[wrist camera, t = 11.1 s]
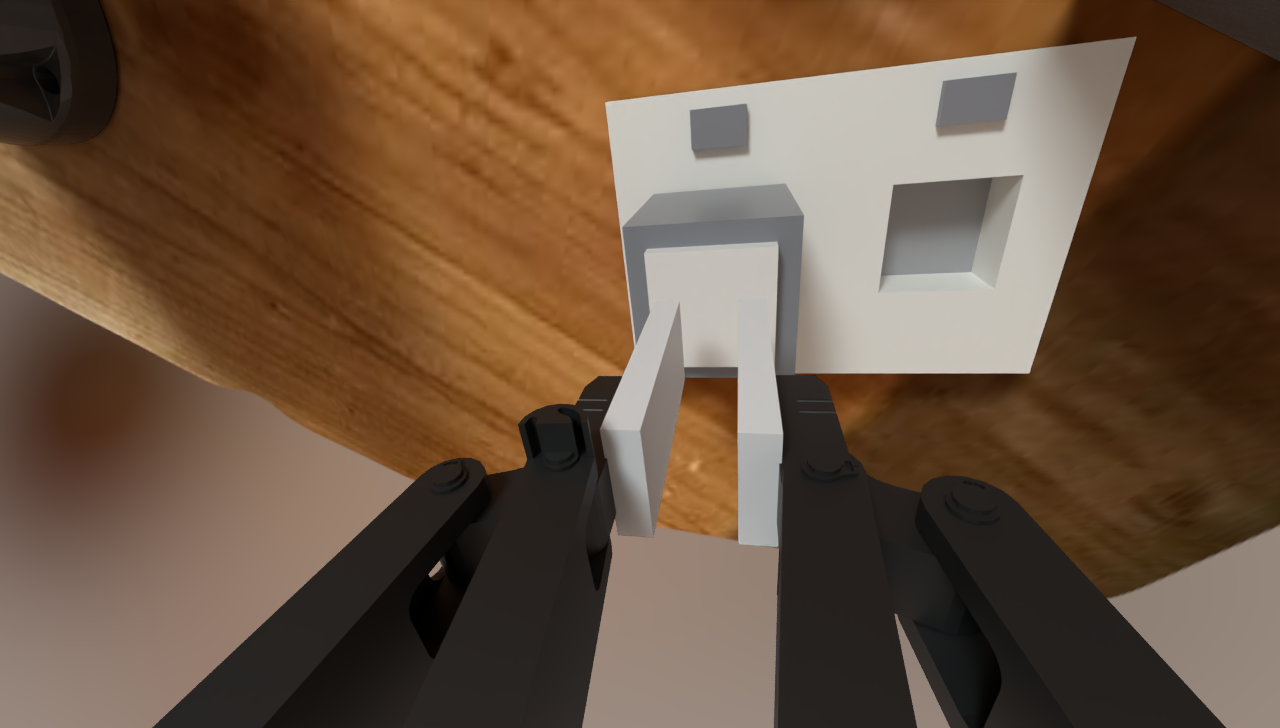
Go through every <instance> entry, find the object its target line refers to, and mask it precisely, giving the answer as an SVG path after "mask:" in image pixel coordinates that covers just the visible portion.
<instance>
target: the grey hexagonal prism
mask: <svg viewBox="0 0 1280 728" xmlns="http://www.w3.org/2000/svg"><path fill="white" fill-rule="evenodd" d="M1156 1H1158V2H1160V3H1162V4H1164V5H1166V6H1168V7H1170V8H1172V9H1174V10H1176V11H1178V12H1180V13H1182V14H1184V15H1186V16H1188V17H1190V18H1192V19H1194V20H1196V21H1198V22H1201V23H1203V24H1205V25H1207V26H1209V27H1211V28H1213V29H1215V30H1217V31H1219V32H1221V33H1223V34H1225V35H1227V36H1229V37H1231V38H1233V39H1235V40H1237V41H1239V42H1241V43H1243V44H1245V45H1247V46H1249V47H1251V48H1253V49H1255V50H1257V51H1259V52H1262V53H1264V54H1266V55H1268V56H1270V57H1272V58H1274V59H1276V60H1278V61H1280V0H1156Z"/></svg>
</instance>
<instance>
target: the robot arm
mask: <svg viewBox="0 0 1280 728" xmlns="http://www.w3.org/2000/svg"><path fill="white" fill-rule="evenodd" d="M116 90H117V74H116V64H115V57H114V51H113V46H112V42H111V38H110V34H109V31H108V27H107V24H106V21H105V18H104V15H103V13H102V10H101V7H100V5H99V2H98V0H0V142H1V143H7V144H13V145H26V146H38V145H55V144H72V143H79V142H83V141H86V140H88V139H90V138H92V137H94V136H95V135H97V134H98V133H99V132H100V131H101V130H102V129H103V128H104V126H105V125H106V124H107V122H108V120H109V118H110V116H111V114H112V111H113V108H114V104H115V99H116ZM684 381H685V373H684V358H683V343H682V328H681V313H680V301H655V302H654V304H653V307H652V309H651V311H650V314H649V316H648V318H647V321H646V323H645V325H644V328H643V330H642V332H641V335H640V337H639V339H638V342H637V344H636V346H635V349H634V351H633V353H632V356H631V358H630V360H629V363H628V365H627V367H626V370H625V372H624V374H623V376H598V377H597V378H596V379H594V380H593V381H592V382H591V383H589V384H588V385H587V386H585V388H584V390H583V392H582V394H581V396H580V397H579V401H577V403H576V405H570V404H556V405H549V406H546V407H543V408H540V409H537V410H535V411H533V412H531V413H530V414H528V415H527V416H525V417H524V418H523V419H522V420H521V422H520V423H519V424H518V426H519V430H520V434H521V438H522V441H523V445H524V449H525V452H526V456H527V462H526V464H525V466H524V468H520V469H516V470H512V471H507V472H501V473H496V474H491V475H487V474H486V471H485V468H484V466H483V465H482V464H481V462H480V461H477V460H475V459H472V458H457V459H452V460H448V461H445V462H442V463H440V464H438V465H436V466H434V467H432V468H430V469H429V470H428V471H426V472H425V473H424V474H422V475H421V476H420V477H419V478H418V479H417V480H416V481H415V482H414V483H412V484H411V485H410V486H409V487H408V488H407V489H406V490H405V491H404V492H403V493H402V494H401V495H400V496H399V497H398V498H396V500H394V501H393V502H392V503H391V504H390V505H389V506H388V507H387V508H386V509H385V510H384V511H383V512H382V513H381V514H379V515H378V516H377V517H376V518H375V519H374V520H373V521H372V522H371V523H370V524H369V525H368V526H367V527H366V528H365V529H363V530H362V531H361V532H360V533H359V534H358V535H357V536H356V537H355V538H354V539H353V540H352V541H351V542H350V543H349V544H348V545H346V546H345V547H344V548H343V549H342V550H341V551H340V552H339V553H338V554H337V555H336V556H335V557H334V558H333V559H332V560H331V561H329V562H328V563H327V564H326V565H325V566H324V567H323V568H322V569H321V570H320V571H319V572H318V573H317V574H316V575H314V576H313V577H312V578H311V579H310V580H309V581H308V582H307V583H306V584H305V585H304V586H303V587H302V588H301V589H300V590H299V591H297V592H296V593H295V594H294V595H293V596H292V597H291V598H290V599H289V600H288V601H287V602H286V603H285V604H284V605H283V606H281V607H280V608H279V609H278V610H277V611H276V612H275V613H274V614H273V615H272V616H271V617H270V618H269V619H268V620H266V621H265V622H264V623H263V624H262V625H261V626H260V627H259V628H258V629H257V630H256V631H255V632H254V633H253V634H252V635H251V636H249V637H248V638H247V639H246V640H245V641H244V642H243V643H242V644H241V645H240V646H239V647H238V648H237V649H236V650H235V651H233V652H232V653H231V654H230V655H229V656H228V657H227V658H226V659H225V660H224V661H223V662H222V663H221V664H220V665H219V666H217V667H216V669H214V670H213V671H212V673H210V674H209V675H208V676H207V677H206V678H205V679H204V680H203V681H202V682H200V683H199V684H198V685H197V686H196V687H195V688H194V689H193V690H192V691H191V692H190V693H189V694H188V695H187V696H186V697H185V698H184V699H182V700H181V701H180V702H179V703H178V704H177V705H176V706H175V707H174V708H173V709H172V710H171V711H170V712H168V714H166V715H165V716H164V717H163V718H162V719H161V720H160V721H159V722H158V723H157V724H156V725H155V726H154V727H153V728H582V723H583V718H584V713H585V707H586V701H587V696H588V690H589V684H590V679H591V672H592V667H593V661H594V656H595V649H596V644H597V639H598V633H599V627H600V621H601V615H602V610H603V604H604V598H605V593H606V587H607V582H608V576H609V570H610V564H611V559H612V545H611V540H610V532H611V529H612V526H613V522H614V519H615V520H616V525H617V532H618V535H623V536H639V537H651V538H653V537H654V532H655V527H656V522H657V517H658V512H659V507H660V502H661V497H662V492H663V487H664V482H665V477H666V472H667V467H668V462H669V457H670V452H671V447H672V442H673V437H674V432H675V427H676V422H677V417H678V411H679V406H680V401H681V396H682V391H683V386H684ZM738 536H739V544H746V545H760V546H773V547H778V542H779V564H778V584H777V595H778V597H777V599H778V600H777V634H776V671H775V672H776V674H775V709H774V711H775V712H774V728H917V725H916V720H915V715H914V710H913V705H912V700H911V695H910V690H909V685H908V680H907V675H906V670H905V666H904V660H903V655H902V651H901V645H900V640H899V635H898V630H897V625H896V621H895V615H894V613H895V614H897V615H898V618H899V621H900V623H901V625H902V627H903V629H904V631H905V634H906V636H907V638H908V640H909V642H910V644H911V646H912V648H913V650H914V652H915V655H916V657H917V659H918V661H919V663H920V665H921V667H922V669H923V671H924V673H925V675H926V678H927V679H928V682H929V684H930V686H931V688H932V690H933V692H934V694H935V696H936V699H937V701H938V703H939V705H940V707H941V709H942V711H943V713H944V715H945V717H946V719H947V721H948V724H949V726H950V727H951V728H1226V727H1225V726H1224V725H1223V724H1222V723H1221V722H1220V721H1219V719H1218V718H1217V717H1216V716H1215V715H1214V714H1213V713H1212V712H1211V711H1210V710H1209V709H1208V708H1207V707H1206V705H1205V704H1204V703H1203V702H1202V701H1201V700H1200V699H1199V698H1198V697H1197V696H1196V695H1195V694H1194V692H1193V691H1192V690H1191V689H1190V688H1189V687H1188V686H1187V685H1186V684H1185V683H1184V682H1183V681H1182V680H1181V678H1180V677H1178V675H1177V674H1176V673H1175V672H1174V671H1173V670H1172V669H1171V668H1170V667H1169V666H1168V664H1167V663H1166V662H1165V661H1164V660H1163V659H1162V658H1161V657H1160V656H1159V655H1158V654H1157V653H1156V651H1155V650H1154V649H1153V648H1152V647H1151V646H1150V645H1149V644H1148V643H1147V642H1146V641H1145V640H1144V638H1142V637H1141V635H1140V634H1139V633H1138V632H1137V631H1136V630H1135V629H1134V628H1133V627H1132V626H1131V625H1130V623H1128V621H1127V620H1126V619H1125V618H1124V617H1123V616H1122V615H1121V614H1120V613H1119V611H1117V609H1116V608H1115V607H1114V606H1113V605H1112V604H1111V603H1110V602H1109V601H1108V600H1107V599H1106V597H1105V596H1104V595H1103V594H1102V593H1101V592H1100V591H1099V590H1098V589H1097V588H1096V587H1095V586H1094V584H1093V583H1092V582H1091V581H1090V580H1089V579H1088V578H1087V577H1086V576H1085V575H1084V574H1083V573H1082V571H1081V570H1080V569H1079V568H1078V567H1077V566H1076V565H1075V564H1074V563H1073V562H1072V561H1071V560H1070V559H1069V557H1068V556H1067V555H1066V554H1065V553H1064V552H1063V551H1062V550H1061V549H1060V548H1059V547H1058V546H1057V544H1056V543H1055V542H1054V541H1053V540H1052V539H1051V538H1050V537H1049V536H1048V535H1047V534H1046V533H1045V532H1044V530H1043V529H1042V528H1041V527H1040V526H1039V525H1038V524H1037V523H1036V522H1035V521H1034V520H1033V519H1032V517H1031V516H1030V515H1029V514H1028V513H1027V512H1026V511H1025V510H1024V509H1023V508H1022V507H1021V506H1020V505H1019V503H1017V502H1016V501H1015V500H1014V499H1012V498H1011V497H1010V496H1009V495H1008V494H1006V493H1005V492H1004V491H1002V490H1000V489H998V488H996V487H994V486H992V485H990V484H988V483H986V482H983V481H979V480H975V479H972V478H968V477H961V476H943V477H938V478H933V479H931V480H930V481H929V482H927V483H926V484H925V485H923V488H922V492H921V493H920V492H916V491H912V490H908V489H904V488H900V487H896V486H893V485H890V484H886V483H883V482H881V481H879V480H876V479H874V478H872V477H870V476H869V475H867V474H866V472H865V470H864V468H863V466H862V464H861V462H859V461H858V460H857V459H856V458H855V457H853V456H852V455H851V454H849V452H848V449H847V446H846V443H845V439H844V436H843V433H842V430H841V427H840V423H839V420H838V417H837V414H836V413H835V407H834V404H833V402H832V398H831V395H830V391H829V388H828V386H827V385H826V384H825V383H823V382H822V381H821V380H820V379H819V378H818V377H817V376H816V375H775V368H774V361H773V353H772V346H771V338H770V331H769V323H768V315H767V308H766V300H765V298H743V299H738ZM439 561H440V562H441V564H442V567H441V568H440V570H439V571H438V572H437V573H436V574H435V575H434V576H432V577H429V575H428V574H429V573H430V571H431V570H432V569H433V568H434V567H435V565H436V564H437V563H438V562H439Z"/></svg>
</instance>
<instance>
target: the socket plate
mask: <svg viewBox="0 0 1280 728" xmlns="http://www.w3.org/2000/svg"><path fill="white" fill-rule="evenodd" d="M1136 38H1137V37H1129V38H1121V39H1113V40H1105V41H1097V42H1089V43H1081V44H1073V45H1065V46H1056V47H1048V48H1040V49H1032V50H1024V51H1016V52H1008V53H1000V54H992V55H984V56H975V57H967V58H959V59H951V60H943V61H935V62H927V63H919V64H911V65H903V66H895V67H886V68H878V69H870V70H862V71H854V72H846V73H838V74H830V75H822V76H814V77H805V78H797V79H789V80H781V81H773V82H765V83H757V84H749V85H741V86H733V87H724V88H716V89H708V90H700V91H692V92H684V93H676V94H668V95H660V96H652V97H644V98H635V99H627V100H619V101H611V102H605V104H606V112H607V121H608V129H609V137H610V146H611V154H612V163H613V171H614V179H615V188H616V196H617V204H618V213H619V221H620V230H621V238H622V246H623V255H624V263H625V271H626V280H627V288H628V296H629V305H630V313H631V322H632V330H633V338H634V347H635V346H636V341H635V333H634V324H633V315H632V307H631V298H630V290H629V281H628V273H627V264H626V256H625V247H624V239H623V230H622V227H623V226H624V225H625V224H626V223H627V222H628V220H629V219H630V218H631V217H632V216H633V215H634V214H635V213H636V212H637V211H638V210H639V209H640V208H641V207H642V206H643V205H644V204H645V203H646V202H647V201H648V199H649V198H650V197H651V196H652V195H653V194H660V193H673V192H685V191H698V190H710V189H723V188H736V187H748V186H761V185H773V184H786V185H787V187H788V188H789V190H790V192H791V194H792V195H793V197H794V199H795V200H796V202H797V204H798V206H799V207H800V209H801V211H802V213H803V214H804V225H803V243H802V260H801V278H800V295H799V313H798V330H797V348H796V365H795V373H1030V370H1031V366H1032V363H1033V360H1034V357H1035V354H1036V351H1037V348H1038V345H1039V341H1040V338H1041V335H1042V332H1043V329H1044V326H1045V323H1046V319H1047V316H1048V313H1049V310H1050V307H1051V304H1052V301H1053V298H1054V294H1055V291H1056V288H1057V285H1058V282H1059V279H1060V276H1061V272H1062V269H1063V266H1064V263H1065V260H1066V257H1067V254H1068V251H1069V247H1070V244H1071V241H1072V238H1073V235H1074V232H1075V229H1076V225H1077V222H1078V219H1079V216H1080V213H1081V210H1082V207H1083V204H1084V200H1085V197H1086V194H1087V191H1088V188H1089V185H1090V182H1091V178H1092V175H1093V172H1094V169H1095V166H1096V163H1097V160H1098V157H1099V153H1100V150H1101V147H1102V144H1103V141H1104V138H1105V135H1106V131H1107V128H1108V125H1109V122H1110V119H1111V116H1112V113H1113V110H1114V106H1115V103H1116V100H1117V97H1118V94H1119V91H1120V88H1121V85H1122V81H1123V78H1124V75H1125V72H1126V69H1127V66H1128V63H1129V59H1130V56H1131V53H1132V50H1133V47H1134V44H1135V41H1136Z"/></svg>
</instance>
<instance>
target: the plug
mask: <svg viewBox="0 0 1280 728" xmlns="http://www.w3.org/2000/svg"><path fill="white" fill-rule="evenodd" d="M803 225H804V214H803V213H802V211H801V209H800V207H799V206H798V204H797V202H796V200H795V199H794V197H793V195H792V194H791V192H790V190H789V188H788V187H787V185H786V184H773V185H761V186H748V187H736V188H723V189H710V190H698V191H685V192H673V193H660V194H653V195H652V196H651V197H650V198H649V199H648V201H647V202H646V203H645V204H644V205H643V206H642V207H641V208H640V209H639V210H638V211H637V212H636V213H635V214H634V215H633V216H632V217H631V218H630V219H629V220H628V222H627V223H626V224H625V225H624V226H623V227H622V230H623V239H624V247H625V256H626V264H627V273H628V281H629V290H630V298H631V307H632V315H633V324H634V333H635V341H636V344H637V342H638V339H639V337H640V335H641V332H642V330H643V328H644V325H645V323H646V321H647V318H648V316H649V314H650V311H651V309H652V307H653V304H654V302H655V301H680V313H681V328H682V343H683V358H684V373H685V378H738V299H743V298H765V300H766V308H767V315H768V323H769V331H770V338H771V346H772V353H773V361H774V368H775V375H795V365H796V348H797V330H798V313H799V295H800V278H801V260H802V243H803Z"/></svg>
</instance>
